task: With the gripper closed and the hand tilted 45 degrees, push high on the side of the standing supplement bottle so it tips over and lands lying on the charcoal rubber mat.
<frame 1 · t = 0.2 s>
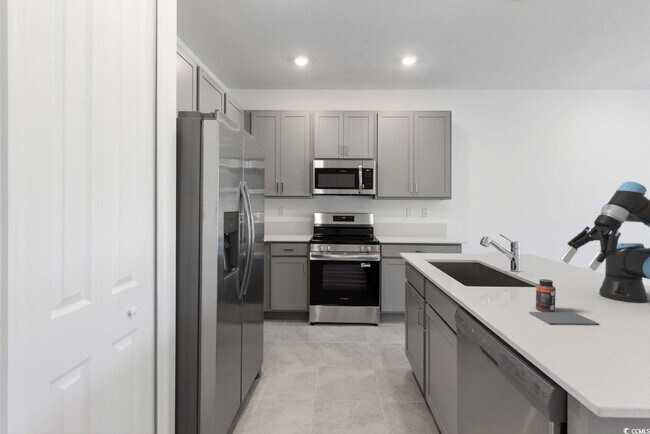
hand: (577, 265, 126), 16 cm above the counter, tool tilted 35°, fingers open, 13 cm apart
mat: (562, 318, 113), on the counter
supplement bottle: (545, 310, 122), on the counter
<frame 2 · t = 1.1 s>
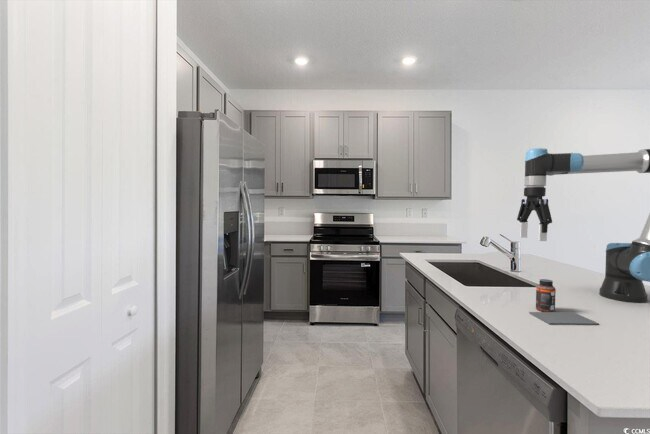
hand: (532, 239, 136), 25 cm above the counter, tool pointing down, fingers open, 12 cm apart
nothing on the counter moved.
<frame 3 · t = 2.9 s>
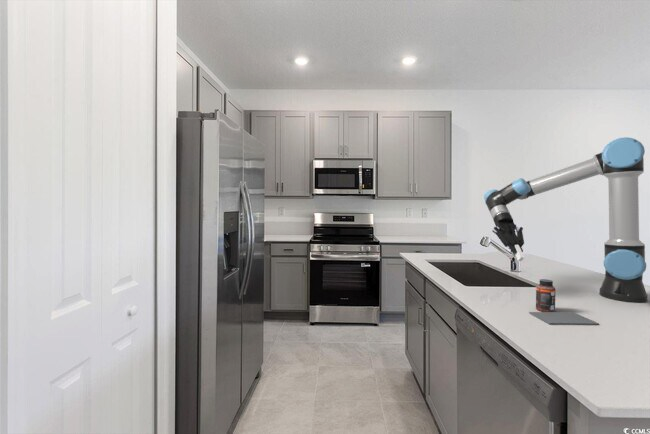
hand: (521, 259, 136), 16 cm above the counter, tool tilted 45°, fingers closed
nothing on the counter moved.
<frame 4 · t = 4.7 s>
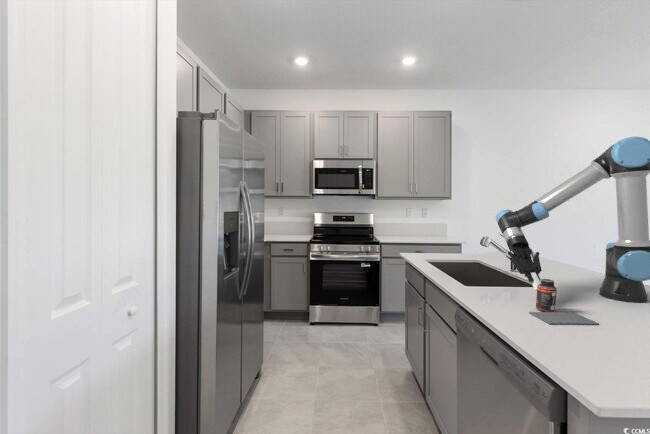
hand: (538, 288, 125), 7 cm above the counter, tool tilted 45°, fingers closed
supplement bottle: (545, 310, 122), on the counter, touching gripper
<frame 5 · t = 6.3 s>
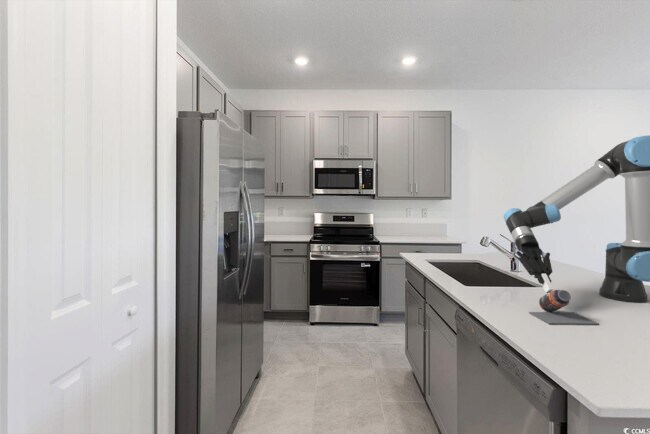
hand: (549, 290, 118), 8 cm above the counter, tool tilted 45°, fingers closed
supplement bottle: (546, 304, 120), point 3 cm above the counter, touching gripper, mat
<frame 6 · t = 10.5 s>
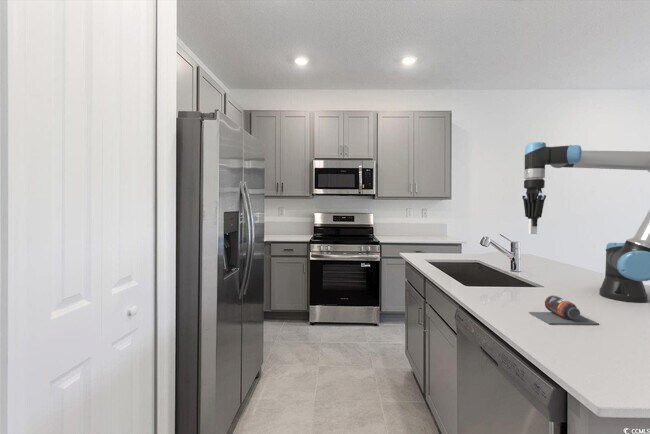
hand: (532, 233, 142), 26 cm above the counter, tool pointing down, fingers closed
supplement bottle: (551, 302, 119), point 3 cm above the counter, touching mat
at the end: supplement bottle tilted 91°; supplement bottle inside the target area (8.0 cm from its centre), point 3.5 cm above the counter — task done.
